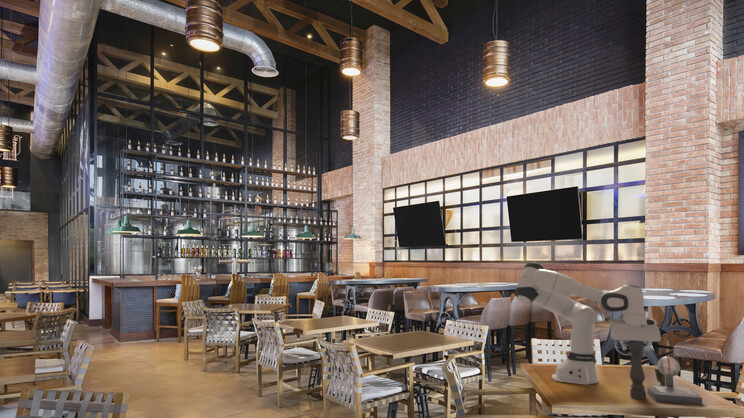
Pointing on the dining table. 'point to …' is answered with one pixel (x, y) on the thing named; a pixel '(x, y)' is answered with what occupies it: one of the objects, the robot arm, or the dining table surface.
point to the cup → (660, 377)
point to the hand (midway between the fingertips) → (636, 350)
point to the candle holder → (637, 371)
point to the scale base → (671, 383)
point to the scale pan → (674, 391)
